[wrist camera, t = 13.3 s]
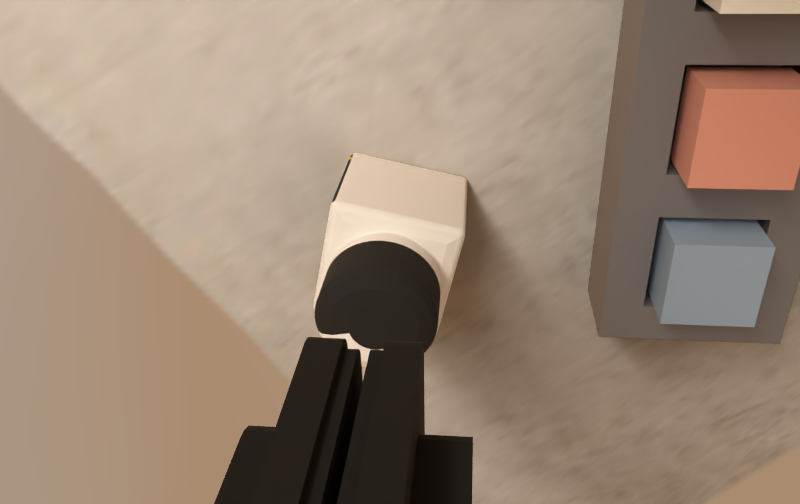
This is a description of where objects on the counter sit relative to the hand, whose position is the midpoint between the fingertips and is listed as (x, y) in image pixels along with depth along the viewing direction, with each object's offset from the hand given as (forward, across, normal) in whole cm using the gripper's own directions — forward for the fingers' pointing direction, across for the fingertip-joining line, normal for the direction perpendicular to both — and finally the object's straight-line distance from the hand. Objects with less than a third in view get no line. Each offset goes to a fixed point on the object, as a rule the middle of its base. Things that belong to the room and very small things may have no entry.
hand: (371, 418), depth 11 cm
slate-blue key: (+28, -14, +13) cm, 34 cm away
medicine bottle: (+32, +3, +13) cm, 35 cm away
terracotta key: (+28, -14, +5) cm, 32 cm away
